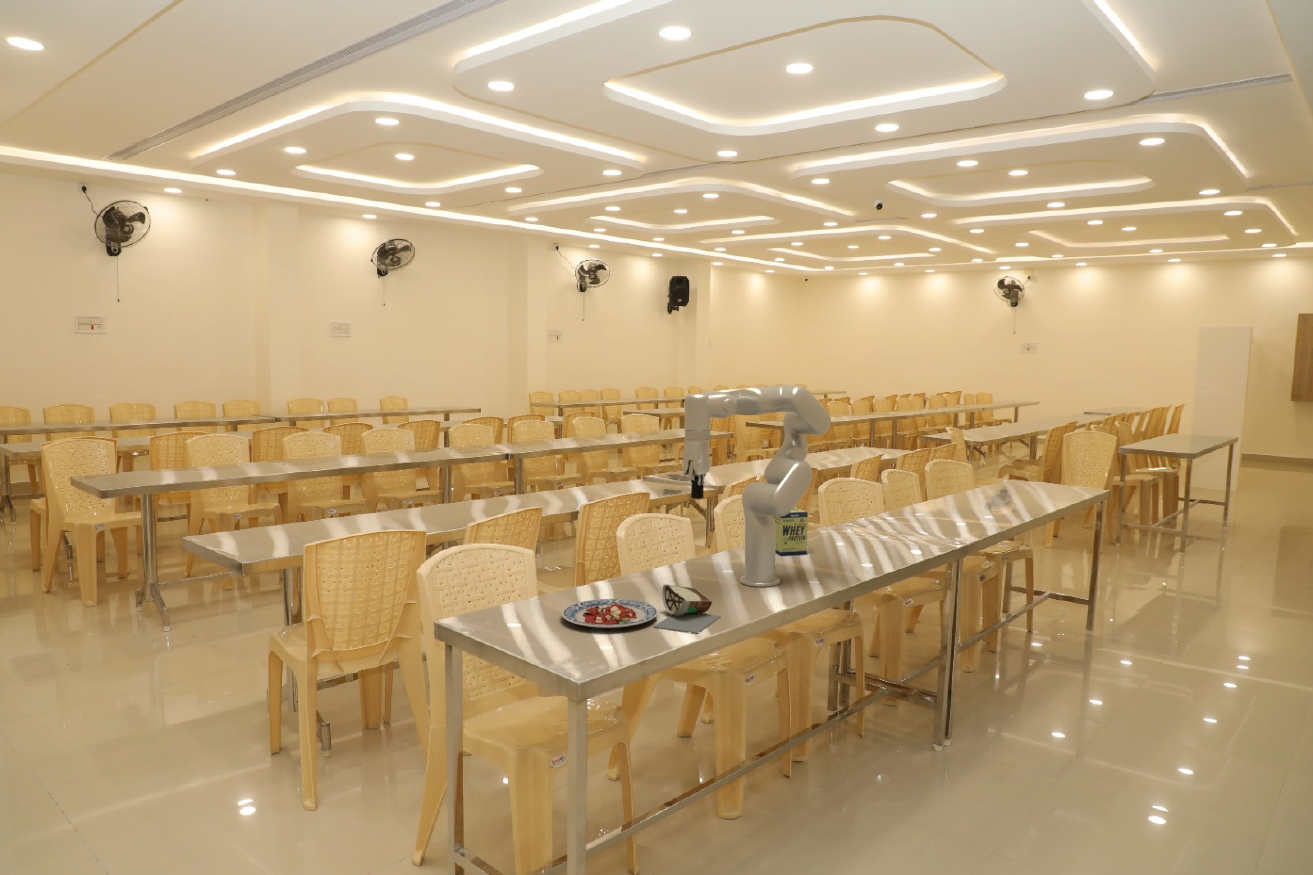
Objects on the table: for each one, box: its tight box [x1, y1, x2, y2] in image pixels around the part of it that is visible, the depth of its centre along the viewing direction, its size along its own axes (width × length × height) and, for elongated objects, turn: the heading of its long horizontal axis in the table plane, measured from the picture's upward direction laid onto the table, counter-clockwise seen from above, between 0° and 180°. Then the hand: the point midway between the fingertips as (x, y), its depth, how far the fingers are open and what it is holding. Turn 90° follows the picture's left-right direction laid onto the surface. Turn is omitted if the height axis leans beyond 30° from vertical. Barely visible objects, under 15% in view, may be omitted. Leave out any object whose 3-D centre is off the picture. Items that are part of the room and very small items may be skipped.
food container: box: [661, 584, 713, 616], centre depth 234 cm, size 12×6×10 cm
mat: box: [653, 613, 721, 634], centre depth 227 cm, size 16×12×1 cm
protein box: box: [773, 506, 808, 557], centre depth 312 cm, size 10×16×16 cm
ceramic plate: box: [561, 598, 659, 629], centre depth 230 cm, size 26×26×3 cm
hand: (697, 498), depth 251 cm, fingers closed
